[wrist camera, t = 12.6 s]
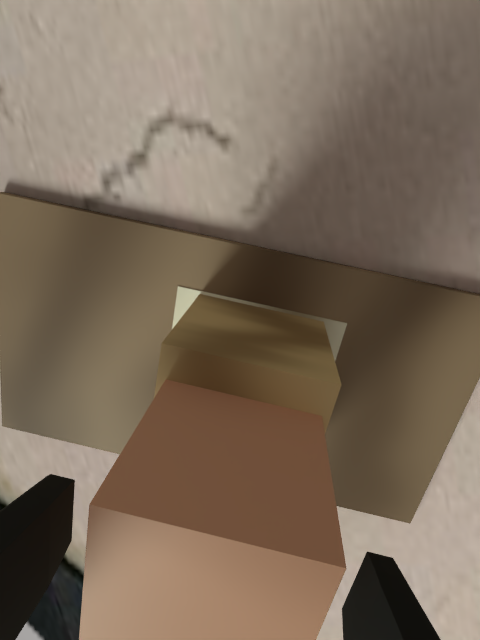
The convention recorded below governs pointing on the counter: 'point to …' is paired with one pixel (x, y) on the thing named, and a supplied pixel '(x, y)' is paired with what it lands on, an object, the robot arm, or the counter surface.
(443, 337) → the brown wooden board
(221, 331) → the oak block
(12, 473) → the counter surface
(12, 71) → the counter surface
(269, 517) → the terracotta cube
